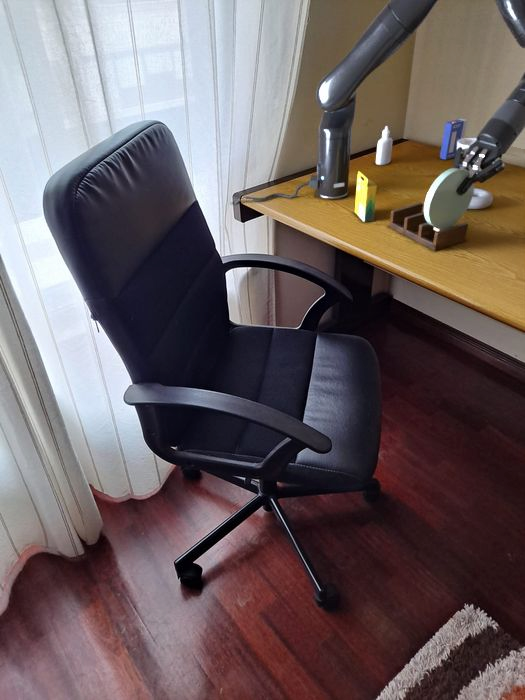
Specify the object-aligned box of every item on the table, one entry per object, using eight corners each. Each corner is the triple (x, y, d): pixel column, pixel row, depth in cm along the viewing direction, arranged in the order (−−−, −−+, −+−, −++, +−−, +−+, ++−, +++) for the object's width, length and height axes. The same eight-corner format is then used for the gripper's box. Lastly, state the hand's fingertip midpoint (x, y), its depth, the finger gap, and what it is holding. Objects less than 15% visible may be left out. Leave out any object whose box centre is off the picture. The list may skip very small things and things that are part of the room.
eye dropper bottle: (373, 161, 173) (376, 125, 166) (388, 160, 174) (392, 123, 166) (377, 165, 170) (380, 128, 163) (393, 164, 171) (397, 127, 163)
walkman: (445, 159, 171) (452, 122, 164) (439, 158, 173) (445, 121, 166) (461, 155, 175) (468, 118, 167) (455, 153, 176) (461, 117, 169)
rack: (389, 227, 132) (391, 210, 129) (417, 218, 135) (420, 202, 132) (434, 250, 120) (437, 233, 117) (464, 240, 123) (468, 223, 121)
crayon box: (374, 221, 135) (378, 178, 128) (363, 222, 135) (367, 179, 127) (364, 210, 141) (367, 169, 134) (354, 212, 140) (357, 170, 133)
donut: (496, 202, 141) (462, 194, 146) (499, 190, 139) (464, 183, 144) (483, 214, 135) (448, 206, 140) (486, 202, 133) (450, 194, 138)
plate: (419, 234, 120) (428, 174, 111) (461, 220, 125) (473, 162, 116) (424, 237, 119) (434, 176, 110) (467, 222, 124) (479, 164, 115)
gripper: (474, 111, 116) (426, 175, 119) (524, 123, 106) (471, 192, 109) (485, 131, 121) (439, 191, 124) (534, 144, 111) (483, 209, 115)
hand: (454, 191), depth 117 cm, fingers closed on plate, 2 cm apart
